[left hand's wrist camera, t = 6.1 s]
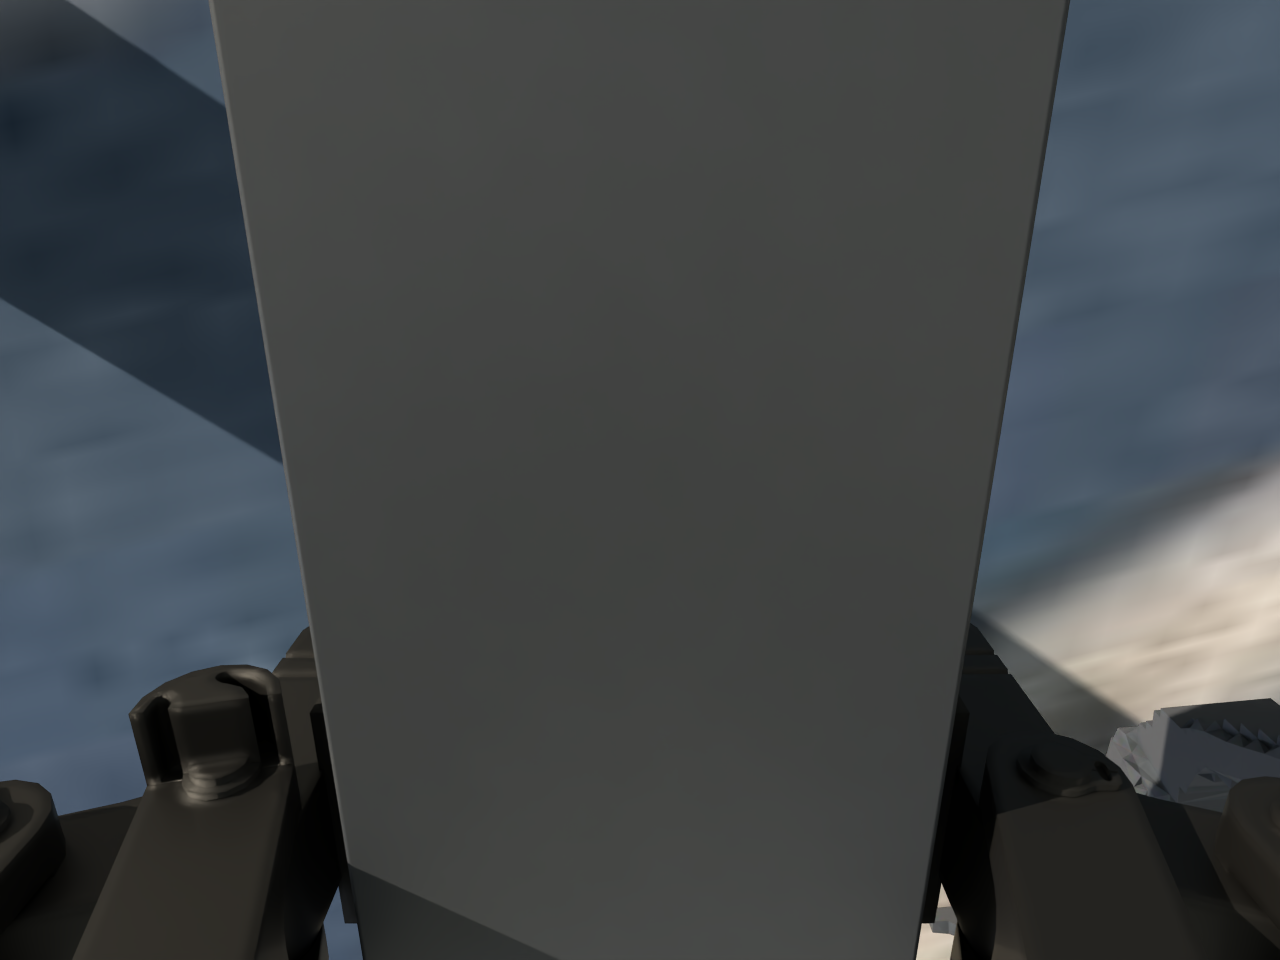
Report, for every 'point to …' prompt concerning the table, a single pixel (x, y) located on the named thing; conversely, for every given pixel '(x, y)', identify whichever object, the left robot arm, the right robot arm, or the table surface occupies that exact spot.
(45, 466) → the table surface
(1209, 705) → the toy
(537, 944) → the bar
